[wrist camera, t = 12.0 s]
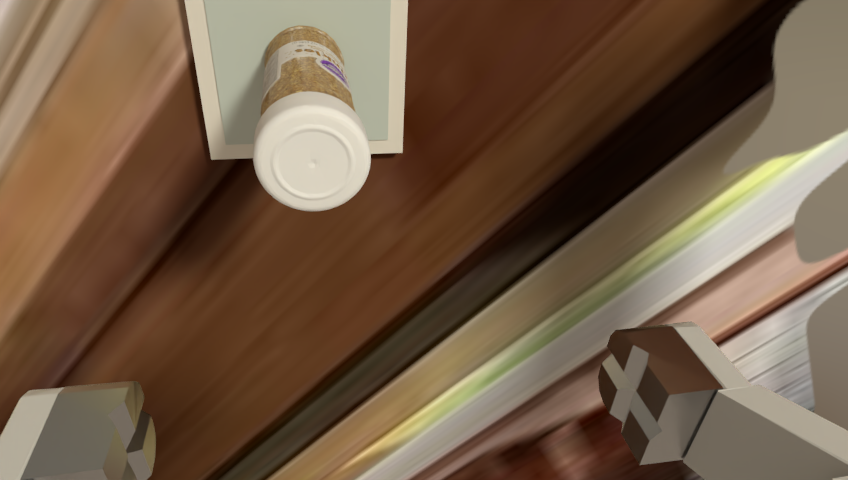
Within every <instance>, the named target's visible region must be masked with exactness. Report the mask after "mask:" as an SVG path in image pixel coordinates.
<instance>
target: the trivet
mask: <svg viewBox="0 0 848 480" xmlns="http://www.w3.org/2000/svg"><path fill="white" fill-rule="evenodd" d="M185 6H186V12H187V18H188V24H189V30H190V36H191V42H192V48H193V54H194V60H195V66H196V72H197V78H198V84H199V90H200V96H201V102H202V108H203V114H204V120H205V126H206V132H207V138H208V144H209V150H210V155H211V160H217V159H244V158H253V144H254V135H255V130H256V127H257V124H258V122H259V120H260V118H261V116H260V111H261V101H262V92H263V80H264V72H265V65H264V61H265V54H266V51H267V49H268V45H269V43H270V42H271V41H272V40H273V39H274V37H275V36H276V35H277V34H279V33H280V32H282V31H283V30H285V29H287V28H289V27H293V26H297V25H301V26H311V27H315V28H318V29H320V30H322V31H324V32H326V33H327V34H328V35H329V36H330V37H331V38H333V40H334V41H335V42H336V44H337V46H338V47H339V49H340V51H341V53H342V56H343V59H344V68H345V71H346V74H347V78H348V82H349V85H350V89H351V93H352V101H353V106H354V108H355V112H356V114H357V115H358V117H359V118H360V120H361V121H362V124H363V126H364V128H365V131H366V134H367V138H368V142H369V147H370V152H371V154H382V153H402V148H403V121H404V93H405V66H406V38H407V11H408V0H185Z"/></svg>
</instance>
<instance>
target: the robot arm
mask: <svg viewBox="0 0 848 480" xmlns="http://www.w3.org/2000/svg"><path fill="white" fill-rule="evenodd" d="M607 347H608V348H609V350H610V351H611V353H612V354H611V355H610V356H609V357H608V358H607V359H606V360H605V361H604V362H603V363H602V364H601V368H600V372H599V376H598V379H599V391H600V394H601V397H602V400H603V402H604V404H605V406H606V408H607V410H608V411H609V413H610V414H611V415H613V416H614V417H616V418H617V419H619V420H620V421H622V422H623V426H622V432H621V434H622V436H623V437H624V439H625V441H626V443H627V444H628V446H629V448H630V449H631V451H632V453H633V455H634V456H635V458H636V460H637V461H638V463H639V465H643V464H651V463H659V462H667V461H675V460H683V459H684V461H683V462H684V463H685V464H686V465H687V466H689V467H690V468H691V469H692V470H694V471H695V472H696V473H697V474H699V475H700V476H701V477H702V478H704V479H705V480H848V431H847V430H845V429H843V428H841V427H839V426H838V425H836V424H834V423H832V422H830V421H828V420H826V419H824V418H822V417H820V416H818V415H816V414H814V413H813V412H811V411H809V410H807V409H805V408H803V407H801V406H799V405H797V404H795V403H793V402H792V401H790V400H788V399H786V398H784V397H782V396H780V395H778V394H776V393H774V392H772V391H770V390H769V389H767V388H765V387H763V386H761V385H754V386H752V385H751V384H750V383H749V382H748V381H747V379H746V378H745V377H744V376H743V375H742V374H741V373H740V372H739V370H738V369H737V368H736V367H735V366H734V365H733V364H732V362H731V361H730V360H729V359H728V358H727V357H726V356H725V355H724V353H723V352H722V351H721V350H720V349H719V348H718V347H717V346H716V344H715V343H714V342H713V341H712V340H711V339H710V338H709V337H708V335H707V334H706V333H705V332H704V331H703V330H702V329H701V328H700V326H698V325H697V324H695V323H693V322H683V323H674V324H666V325H656V326H648V327H639V328H630V329H622V330H616V331H615V332H614V333H613V334H612V335H611V336H610V339H609V342H608V345H607ZM143 401H144V394H143V392H142V389H141V386H140V384H139V382H135V381H130V382H117V383H105V384H93V385H81V386H68V387H64V388H52V389H39V390H29V391H28V392H27V393H26V394H24V395H23V396H22V397H21V398H20V399H19V401H18V403H17V405H16V407H15V409H14V411H13V413H12V415H11V417H10V418H9V420H8V422H7V424H6V426H5V428H4V430H3V432H2V434H1V436H0V480H147V479H148V478H149V477H150V476H151V474H152V470H153V465H154V460H155V447H156V437H155V429H154V424H153V421H152V418H151V415H149V414H147V413H146V412H144V411H142V410H141V408H142V404H143Z"/></svg>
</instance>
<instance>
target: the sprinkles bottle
mask: <svg viewBox="0 0 848 480" xmlns="http://www.w3.org/2000/svg"><path fill="white" fill-rule="evenodd" d="M264 65H265V72H264V80H263V92H262V101H261V111H260V116H261V118H260V120H259V122H258V124H257V127H256V130H255V135H254V144H253V163H254V168H255V172H256V175H257V177H258V179H259V181H260V183H261V184H262V186H263V187H264V189H265V190H266V191H267V192H268V193H269V194H270V195H271V196H272V197H273V198H275V199H276V200H277V201H279V202H280V203H282V204H284V205H286V206H289V207H291V208H294V209H298V210H303V211H323V210H328V209H331V208H334V207H337V206H339V205H341V204H343V203H345V202H347V201H348V200H349V199H351V198H352V197H353V196H354V195H355V194H356V193H357V192H358V191H359V190H360V188H361V187H362V186H363V184H364V183H365V181H366V178H367V176H368V173H369V169H370V164H371V152H370V147H369V142H368V138H367V134H366V131H365V128H364V126H363V124H362V121H361V120H360V118H359V117H358V115H357V114H356V112H355V108H354V106H353V101H352V93H351V89H350V85H349V82H348V78H347V74H346V71H345V68H344V59H343V56H342V53H341V51H340V49H339V47H338V46H337V44H336V42H335V41H334V40H333V38H331V37H330V36H329V35H328V34H327V33H326V32H324V31H322V30H320V29H318V28H315V27H311V26H301V25H297V26H293V27H289V28H287V29H285V30H283V31H282V32H280V33H279V34H277V35H276V36H275V37H274V39H273V40H272V41H271V42H270V43H269V45H268V49H267V51H266V54H265V61H264Z"/></svg>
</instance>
